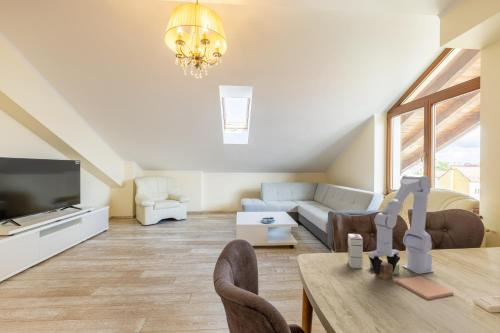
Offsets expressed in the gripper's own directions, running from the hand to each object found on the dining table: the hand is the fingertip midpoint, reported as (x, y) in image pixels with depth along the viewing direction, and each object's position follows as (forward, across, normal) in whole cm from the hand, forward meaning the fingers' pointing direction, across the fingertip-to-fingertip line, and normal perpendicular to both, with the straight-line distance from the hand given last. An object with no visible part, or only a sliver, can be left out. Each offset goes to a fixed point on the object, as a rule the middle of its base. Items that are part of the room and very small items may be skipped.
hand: (383, 272), depth 101 cm
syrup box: (+2, -4, +13) cm, 14 cm away
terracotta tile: (+2, +8, -12) cm, 14 cm away
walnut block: (+2, 0, 0) cm, 2 cm away
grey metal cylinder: (+2, +2, +7) cm, 8 cm away
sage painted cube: (+2, +8, +3) cm, 8 cm away
